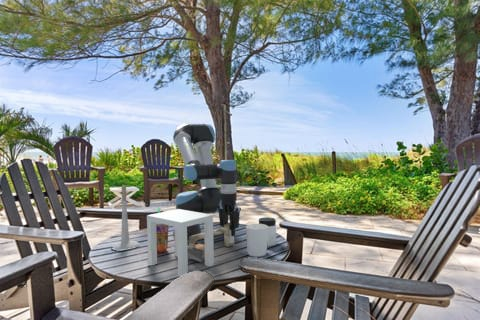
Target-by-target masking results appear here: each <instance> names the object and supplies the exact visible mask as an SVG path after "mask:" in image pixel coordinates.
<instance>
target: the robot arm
mask: <svg viewBox="0 0 480 320" xmlns="http://www.w3.org/2000/svg"><path fill="white" fill-rule="evenodd" d="M172 139H173V143H174V144H175V147H177V148H178V151H179V152H180V156H181V157H182V160H183V162H184V164H185V165H184V166H183V170H182V172H183V177H184V179H185V180H186V181H199V180H200V187H201V188H200V189H199V191H197V190H191V191H184V192H180V193H177V195H176V196H175V202H174V203H175V210H176V209H182V210H188V211H194V212H200V213H206V214H212V215H214V214H218V218H219V219H218V220H219V226H220V227H221V228H222V227H224V224H228V223H230V229H229V243H233V242H234V243H235V236H236V229H238V228H239V226H240V216H241V215H240V213H241V210H242V208H241V207H238V206H237V197H238V196H237V188H238V187H237V162H236V160H234V159H222V160H220V162H218V163H214V161H213V154H212V147H213V145H214V143H215V141H216V132H215V129H214V127H213V126H212V125H211V124H205V123H203V124H202V123H201V124H200V123H184V124H181V125H179V126H178V127H177V128H176V129H175V131H174V132H173V138H172ZM217 179H219V181H220V182H219V183H220V187H219V186H218V185H217V182H216V181H217ZM202 231H203V230H202V228H201V225H200V223H199V224H195V225H191V226H188V227H187V240H189V236H192V235H196V234H200V233H203V232H202ZM172 236H173V238H174V237H175V231H174V230H173V231H172Z"/></svg>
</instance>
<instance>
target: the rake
mask: <svg viewBox="0 0 480 320" xmlns="http://www.w3.org/2000/svg"><path fill="white" fill-rule="evenodd" d="M229 229H230V222H228V224H224V227H222V226H221V227H219V228H215V229H213V237H214V236H217V235H221V234H223V235H224V236H223V237H224V238H223V239H224V241H223V244H224V246H225V247H231V246H234V245H235V241H234V242H233V243H229ZM202 239H203V240H204V232H202V233H200V234H196V235H192V236H189V239H188V245H187V256H188V259H191V260H193V261H197V262H200V263H201V262H203V261H204V262H205V259H204V250H200V249H197V248H195V245H196V241H200V240H202Z"/></svg>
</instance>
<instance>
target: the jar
mask: <svg viewBox="0 0 480 320" xmlns="http://www.w3.org/2000/svg"><path fill="white" fill-rule="evenodd" d="M276 223H277V220H276V218H274V217H269V216H268V217H267V216H266V217H265V216H264V217H261V218H258V224H265V225H267V226H268V233H267V247H273V246H276V245H277V225H276Z"/></svg>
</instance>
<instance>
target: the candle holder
mask: <svg viewBox="0 0 480 320" xmlns="http://www.w3.org/2000/svg"><path fill="white" fill-rule="evenodd" d="M267 233H268V226H267V225H265V224H259V223H249V224H247V225H245V235H246V238H245V239H246V247H247V248H246V249H247V250H246V251H247V255H249V256H251V257H255V258H258V257H264V256H266V255H267V251H268V246H267Z"/></svg>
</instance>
